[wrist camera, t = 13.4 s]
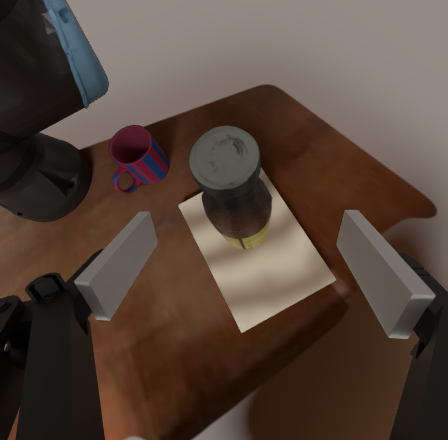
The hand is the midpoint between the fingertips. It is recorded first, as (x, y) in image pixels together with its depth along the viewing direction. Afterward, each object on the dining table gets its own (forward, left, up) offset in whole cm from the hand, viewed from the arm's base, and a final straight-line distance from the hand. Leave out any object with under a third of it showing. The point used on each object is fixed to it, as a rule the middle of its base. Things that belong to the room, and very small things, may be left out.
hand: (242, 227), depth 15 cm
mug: (-20, -9, -18) cm, 28 cm away
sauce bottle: (-3, +1, -16) cm, 16 cm away
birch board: (-1, +1, -18) cm, 18 cm away
